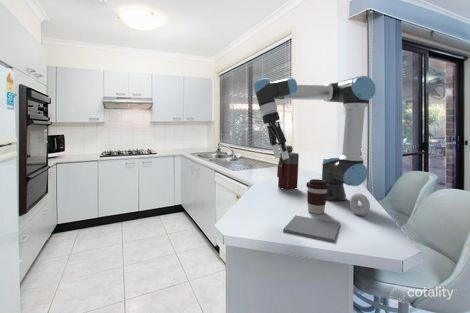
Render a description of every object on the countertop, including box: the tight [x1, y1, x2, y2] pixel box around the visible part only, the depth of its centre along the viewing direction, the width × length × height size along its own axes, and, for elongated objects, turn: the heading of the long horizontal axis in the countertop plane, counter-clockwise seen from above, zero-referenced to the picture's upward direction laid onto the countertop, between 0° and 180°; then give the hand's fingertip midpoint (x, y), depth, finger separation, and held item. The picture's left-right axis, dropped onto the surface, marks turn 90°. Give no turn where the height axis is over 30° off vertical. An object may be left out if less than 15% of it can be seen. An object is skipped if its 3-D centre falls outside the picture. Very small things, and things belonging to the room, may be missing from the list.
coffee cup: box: [305, 178, 329, 215], centre depth 119 cm, size 10×10×15 cm
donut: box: [349, 193, 371, 217], centre depth 116 cm, size 10×4×10 cm, turn 21°
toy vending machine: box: [276, 145, 300, 191], centre depth 166 cm, size 9×11×28 cm
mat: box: [282, 215, 341, 243], centre depth 99 cm, size 18×18×1 cm
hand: (281, 158), depth 117 cm, fingers open, 13 cm apart
